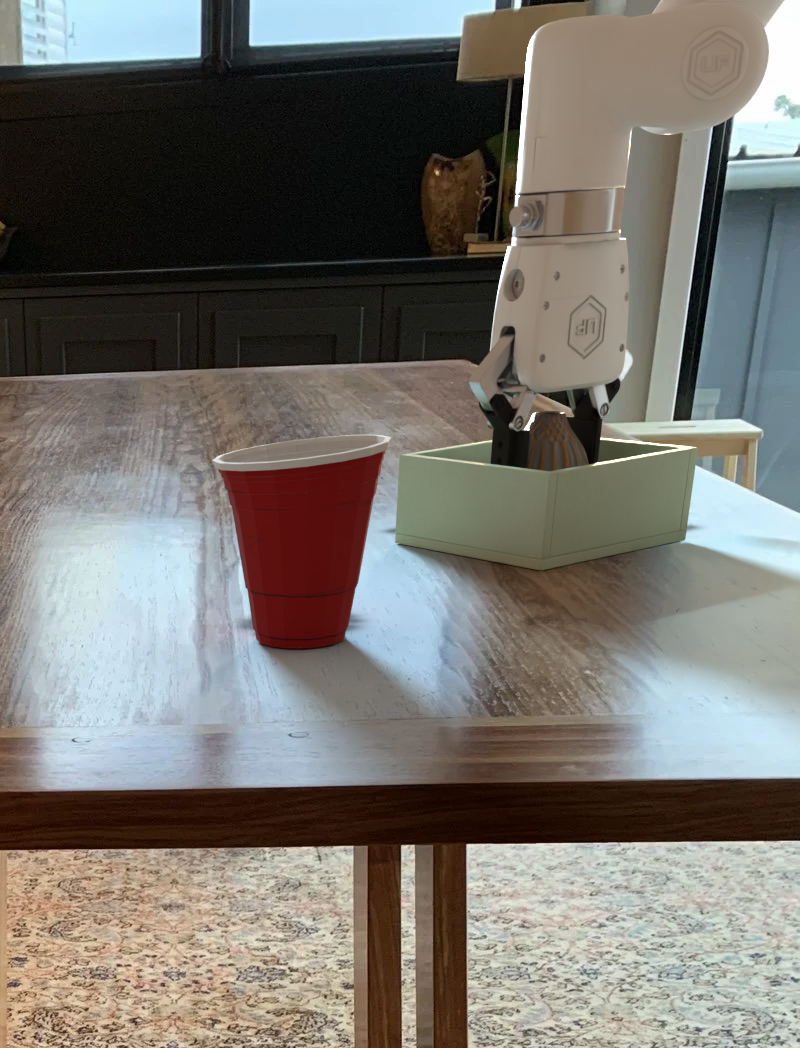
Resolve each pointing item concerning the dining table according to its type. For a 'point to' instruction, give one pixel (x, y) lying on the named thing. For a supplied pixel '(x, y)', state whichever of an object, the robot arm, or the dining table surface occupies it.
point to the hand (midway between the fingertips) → (543, 476)
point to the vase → (553, 443)
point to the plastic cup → (303, 531)
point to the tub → (544, 503)
